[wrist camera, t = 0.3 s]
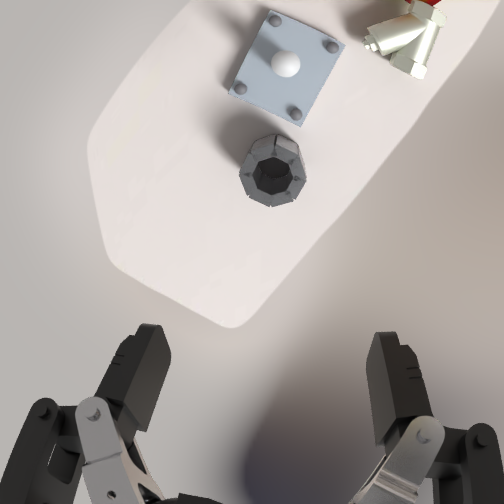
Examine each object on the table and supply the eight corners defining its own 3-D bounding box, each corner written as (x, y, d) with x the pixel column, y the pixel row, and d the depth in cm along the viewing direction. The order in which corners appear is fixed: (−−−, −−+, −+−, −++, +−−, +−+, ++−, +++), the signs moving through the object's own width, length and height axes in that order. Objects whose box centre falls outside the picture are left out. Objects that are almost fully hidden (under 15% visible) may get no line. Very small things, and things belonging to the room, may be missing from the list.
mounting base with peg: (271, 12, 24) (265, -9, 17) (343, 46, 25) (361, 36, 18) (230, 93, 29) (211, 98, 22) (300, 124, 30) (303, 140, 23)
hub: (261, 126, 31) (257, 134, 27) (312, 151, 32) (316, 164, 27) (238, 173, 34) (231, 189, 30) (287, 196, 35) (286, 215, 31)
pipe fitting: (357, 49, 25) (415, 75, 25) (360, 53, 22) (424, 82, 22) (378, -13, 19) (438, 15, 19) (383, -17, 17) (450, 15, 16)
